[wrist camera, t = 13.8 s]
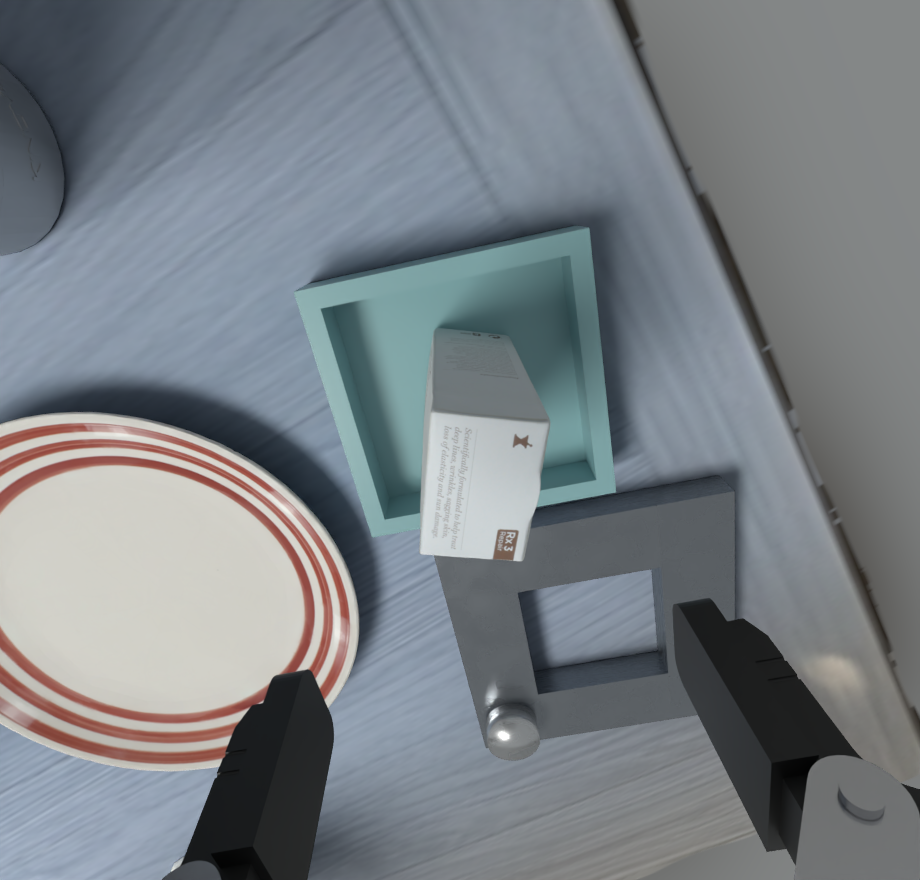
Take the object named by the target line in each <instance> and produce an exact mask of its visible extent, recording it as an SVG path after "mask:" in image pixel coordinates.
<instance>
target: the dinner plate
mask: <svg viewBox="0 0 920 880" xmlns="http://www.w3.org/2000/svg"><path fill="white" fill-rule="evenodd" d="M358 640H359V609H358V602H357V597H356V593H355V589H354V585H353V581H352V578H351V575H350V573H349V570H348V568H347V565H346V563H345V561H344V559H343V557H342V555H341V553H340V551H339V549H338V547H337V545H336V543H335V542H334V540H333V539H332V537H331V536H330V534H329V532H328V531H327V529H326V528H325V527H324V525H323V524H322V523H321V522H320V520H319V519H318V518H317V516H316V515H315V514H314V513H313V512H312V511H311V510H310V509H309V507H308V506H307V505H306V504H305V503H304V502H303V501H302V500H301V499H300V498H299V497H298V496H297V495H296V494H295V493H294V492H293V491H292V490H291V489H290V488H288V487H287V486H286V485H285V484H284V483H282V482H281V481H280V480H279V479H277V478H276V477H275V476H274V475H272V474H271V473H270V472H268V471H267V470H266V469H264V468H263V467H261V466H260V465H258V464H256V463H255V462H253V461H252V460H250V459H248V458H247V457H245V456H243V455H241V454H240V453H238V452H234V451H233V450H232V449H230V448H228V447H226V446H224V445H223V444H221V443H218V442H216V441H213V440H211V439H208V438H206V437H203V436H201V435H199V434H196V433H193V432H191V431H188V430H185V429H182V428H178V427H175V426H172V425H169V424H165V423H161V422H157V421H153V420H148V419H144V418H139V417H133V416H126V415H119V414H110V413H100V412H65V413H51V414H42V415H35V416H30V417H23V418H19V419H15V420H11V421H7V422H4V423H1V424H0V723H1V724H2V725H4V726H6V727H7V728H9V729H11V730H13V731H15V732H17V733H18V734H20V735H22V736H24V737H27V738H29V739H31V740H33V741H35V742H37V743H40V744H42V745H45V746H47V747H49V748H52V749H54V750H57V751H60V752H62V753H65V754H68V755H71V756H75V757H78V758H82V759H85V760H89V761H93V762H97V763H101V764H105V765H111V766H117V767H122V768H130V769H137V770H149V771H184V770H196V769H205V768H213V767H218V766H220V764H221V762H222V759H223V757H225V751H226V749H227V746H228V744H229V741H230V738H231V736H232V733H233V731H234V728H235V727H236V725H237V724H238V723H239V721H240V720H241V719H242V718H243V716H244V715H245V714H246V712H247V711H248V710H249V708H250V707H251V706H252V705H255V704H261V703H263V701H264V699H265V696H266V693H267V690H268V687H269V684H270V682H271V680H272V678H273V677H274V676H275V675H279V674H285V673H290V672H296V671H301V670H307V669H309V670H311V671H312V673H313V675H314V677H315V679H316V682H317V684H318V686H319V689H320V691H321V693H322V696H323V698H324V700H325V703H326V705H327V707H328V708H329V707H330V706H331V704H332V703H333V702H334V700H335V699H336V698H337V696H338V695H339V693H340V691H341V690H342V688H343V686H344V685H345V683H346V681H347V679H348V677H349V674H350V672H351V669H352V667H353V664H354V660H355V657H356V652H357V647H358Z"/></svg>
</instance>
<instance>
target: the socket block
mask: <svg viewBox="0 0 920 880" xmlns="http://www.w3.org/2000/svg"><path fill="white" fill-rule="evenodd" d="M434 557H435V561H436V565H437V569H438V572H439V576H440V580H441V583H442V587H443V591H444V594H445V598H446V602H447V606H448V609H449V613H450V617H451V620H452V624H453V628H454V632H455V635H456V639H457V643H458V646H459V650H460V654H461V657H462V661H463V665H464V669H465V672H466V676H467V680H468V683H469V687H470V691H471V694H472V698H473V702H474V706H475V709H476V713H477V717H478V720H479V724H480V728H481V732H482V735H483V739H484V743H485V746H486V748H489V750H490V752H491V753H492V754H493V755H495V756H496V757H498V758H500V759H504V760H521V759H524V758H527V757H529V756H531V755H532V754H533V753H534V752H535V751H536V750H537V749H538V747H539V744H540V740H542V739H548V738H554V737H561V736H567V735H574V734H580V733H586V732H593V731H599V730H605V729H612V728H618V727H624V726H631V725H637V724H643V723H650V722H656V721H662V720H669V719H675V718H681V717H688V716H694V715H698V714H697V712H696V710H695V708H694V706H693V704H692V702H691V700H690V698H689V696H688V694H687V692H686V690H685V688H684V686H683V684H682V681H681V678H680V676H679V673H678V669H677V665H676V660H675V651H674V632H673V613H672V609H673V605H674V604H677V603H683V602H688V601H694V600H699V599H705V598H710V599H712V600H713V602H714V603H715V604H716V606H717V607H718V609H719V610H720V611H721V613H722V614H723V616H724V617H725V619H726V620H727V621H732V620H735V491H734V490H733V489H732V488H731V487H730V486H729V485H728V484H727V483H726V482H725V481H724V480H723V479H722V478H721V477H720V476H713V477H708V478H702V479H697V480H692V481H686V482H681V483H675V484H670V485H665V486H659V487H654V488H648V489H643V490H638V491H632V492H627V493H621V494H616V495H611V496H605V497H600V498H594V499H589V500H584V501H578V502H573V503H567V504H562V505H557V506H551V507H546V508H540V509H535V512H534V514H533V517H532V522H531V527H530V532H529V537H528V542H527V547H526V552H525V557H524V559H523V561H510V560H497V559H480V558H464V557H449V556H437V555H434ZM649 569H652V580H653V593H654V607H655V620H656V633H657V646H658V651H656V652H650V653H644V654H638V655H632V656H626V657H620V658H614V659H608V660H602V661H596V662H590V663H584V664H578V665H572V666H566V667H560V668H554V669H548V670H542V671H536V672H534V670H533V665H532V660H531V655H530V650H529V645H528V640H527V635H526V630H525V625H524V620H523V615H522V610H521V606H520V601H519V596H518V592H524V591H529V590H535V589H541V588H547V587H552V586H558V585H564V584H569V583H575V582H581V581H586V580H592V579H598V578H603V577H609V576H615V575H621V574H626V573H632V572H638V571H643V570H649Z"/></svg>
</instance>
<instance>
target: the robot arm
mask: <svg viewBox="0 0 920 880" xmlns="http://www.w3.org/2000/svg"><path fill="white" fill-rule="evenodd" d="M63 195H64V171H63V165H62V159H61V153H60V150H59V147H58V144H57V142H56V139H55V136H54V133H53V130H52V128H51V126H50V125H49V123H48V121H47V119H46V117H45V115H44V114H43V112H42V110H41V108H40V107H39V105H38V104H37V103H36V101H35V100H34V99H33V97H32V96H31V95H30V93H29V92H28V91H27V89H26V88H25V87H24V86H23V85H22V84H21V83H20V82H19V81H18V80H17V79H16V78H15V77H14V76H13V75H12V74H11V73H10V72H9V71H8V70H7V69H6V68H5V67H4V66H2V65H1V64H0V256H3V255H7V254H12V253H17V252H21V251H23V250H25V249H27V248H29V247H31V246H33V245H34V244H36V243H37V242H38V241H40V240H41V239H42V238H43V237H44V236H45V235H46V234H47V233H48V232H49V231H50V229H51V227H52V226H53V224H54V222H55V221H56V219H57V217H58V215H59V211H60V208H61V204H62V201H63ZM672 613H673V632H674V651H675V660H676V665H677V669H678V673H679V676H680V678H681V681H682V684H683V686H684V688H685V690H686V692H687V694H688V696H689V698H690V700H691V702H692V704H693V706H694V708H695V710H696V712H697V714H698V716H699V718H700V720H701V722H702V724H703V726H704V728H705V730H706V732H707V734H708V736H709V738H710V740H711V742H712V744H713V746H714V748H715V750H716V752H717V754H718V756H719V757H720V759H721V761H722V763H723V765H724V767H725V769H726V771H727V773H728V775H729V777H730V779H731V781H732V783H733V785H734V787H735V789H736V791H737V793H738V795H739V797H740V799H741V801H742V803H743V805H744V807H745V809H746V811H747V813H748V815H749V817H750V819H751V821H752V823H753V825H754V827H755V829H756V831H757V833H758V835H759V837H760V839H761V841H762V843H763V845H764V847H765V849H766V851H767V852H769V851H775V850H781V849H787V851H788V852H789V854H790V856H791V858H792V860H793V862H794V863H795V866H796V867H795V875H794V880H920V789H916V788H913V787H910V786H907V785H904V784H902V783H900V782H899V781H898V780H897V779H895V778H894V777H893V776H892V775H891V774H889V773H888V772H886V771H885V770H883V769H882V768H880V767H878V766H876V765H874V764H873V763H870V762H868V761H865V760H863V759H862V758H861V757H860V756H859V755H858V754H857V753H856V751H855V750H854V749H853V748H852V747H851V745H850V744H849V743H848V741H847V740H846V739H845V737H844V736H843V735H842V733H841V732H840V731H839V730H838V728H837V727H836V726H835V724H834V723H833V722H832V720H831V719H830V718H829V716H828V715H827V714H826V712H825V711H824V710H823V708H822V707H821V706H820V704H819V703H818V702H817V700H816V699H815V698H814V696H813V695H812V694H811V692H810V691H809V690H808V688H807V687H806V686H805V685H804V683H803V682H802V681H801V679H798V677H797V674H796V673H795V671H794V670H793V669H792V667H791V666H790V665H789V663H788V662H787V661H785V660H784V658H783V655H782V654H781V653H780V651H779V650H778V649H777V647H776V646H775V645H774V643H773V642H772V641H771V640H770V638H769V637H768V636H767V635H766V634H765V633H763V632H762V631H760V630H759V629H758V628H756V627H755V626H753V625H752V624H750V623H749V622H747V621H746V620H745V619H738V620H732V621H727V620H726V619H725V617H724V616H723V614H722V613H721V611H720V610H719V609H718V607H717V606H716V604H715V603H714V602H713V600H712V599H710V598H705V599H699V600H694V601H688V602H683V603H677V604H674V605H673V609H672ZM333 742H334V729H333V722H332V717H331V714H330V712H329V710H328V707H327V705H326V703H325V700H324V698H323V696H322V693H321V691H320V689H319V686H318V684H317V682H316V679H315V677H314V675H313V673H312V671H311V670H309V669H307V670H301V671H296V672H290V673H285V674H279V675H275V676H274V677H273V678H272V680H271V682H270V684H269V687H268V690H267V693H266V696H265V699H264V701H263V703H261V704H255V705H252V706H251V707H250V708H249V710H248V711H247V712H246V714H245V715H244V716H243V718H242V719H241V720H240V721H239V723H238V724H237V725H236V727H235V728H234V731H233V733H232V736H231V738H230V741H229V744H228V746H227V749H226V751H225V757H223V759H222V762H221V764H220V767H219V769H218V772H217V778H215V780H214V782H213V785H212V787H211V790H210V793H209V795H208V798H207V800H206V803H205V805H204V808H203V811H202V813H201V816H200V818H199V821H198V823H197V826H196V829H195V831H194V834H193V836H192V839H191V842H190V844H189V847H188V849H187V852H186V854H185V857H184V859H183V861H182V863H181V865H180V867H178V868H176V869H174V870H173V871H172V872H170V873H169V874H168V875H166V876H165V877H164V878H163V879H162V880H307V878H308V873H309V868H310V862H311V857H312V852H313V847H314V842H315V837H316V832H317V826H318V821H319V816H320V811H321V806H322V801H323V795H324V790H325V785H326V780H327V775H328V770H329V765H330V759H331V754H332V749H333Z"/></svg>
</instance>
